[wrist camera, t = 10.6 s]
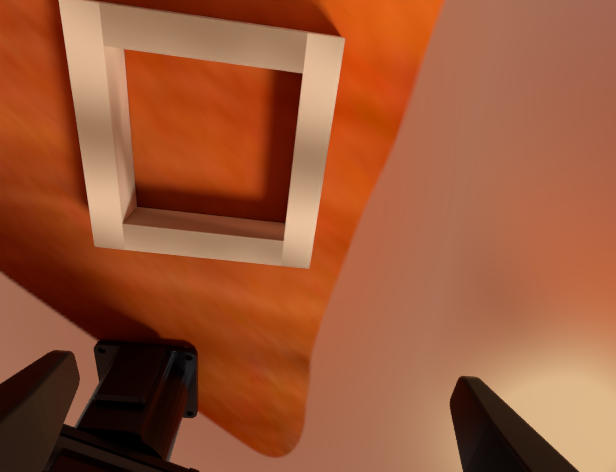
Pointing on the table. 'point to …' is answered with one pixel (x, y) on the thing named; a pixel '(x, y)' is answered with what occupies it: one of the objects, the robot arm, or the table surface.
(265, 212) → the table surface
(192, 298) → the table surface
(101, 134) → the holder
